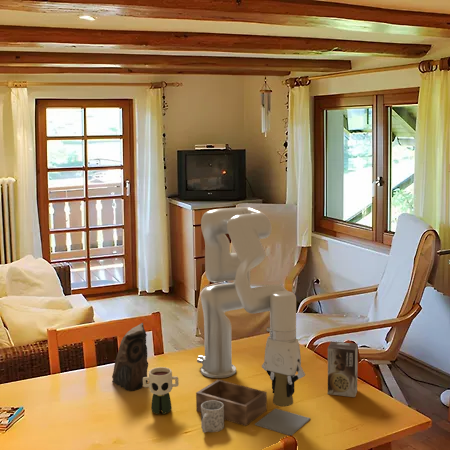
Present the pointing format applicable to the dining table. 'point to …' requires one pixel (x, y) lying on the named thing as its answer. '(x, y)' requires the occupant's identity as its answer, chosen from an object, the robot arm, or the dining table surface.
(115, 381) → the owl
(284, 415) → the grey mat
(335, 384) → the coffee box
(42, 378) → the dining table surface
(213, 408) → the mug
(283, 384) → the cork
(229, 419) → the walnut box
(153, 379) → the character mug
